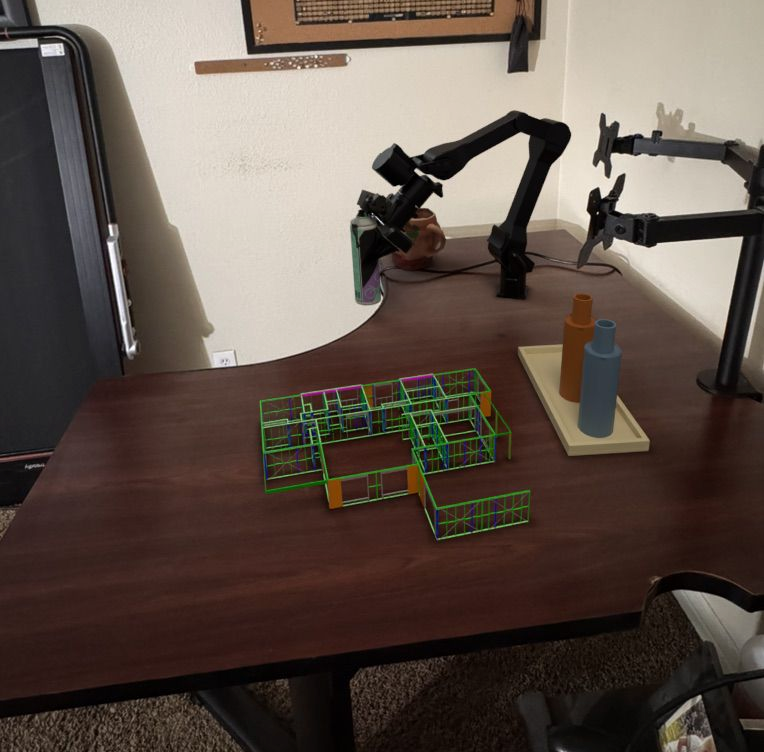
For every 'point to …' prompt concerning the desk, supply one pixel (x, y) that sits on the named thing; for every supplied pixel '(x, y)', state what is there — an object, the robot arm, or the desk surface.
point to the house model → (413, 471)
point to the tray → (576, 408)
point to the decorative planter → (421, 241)
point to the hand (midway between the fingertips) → (359, 258)
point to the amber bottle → (575, 346)
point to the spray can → (363, 274)
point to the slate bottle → (600, 381)
